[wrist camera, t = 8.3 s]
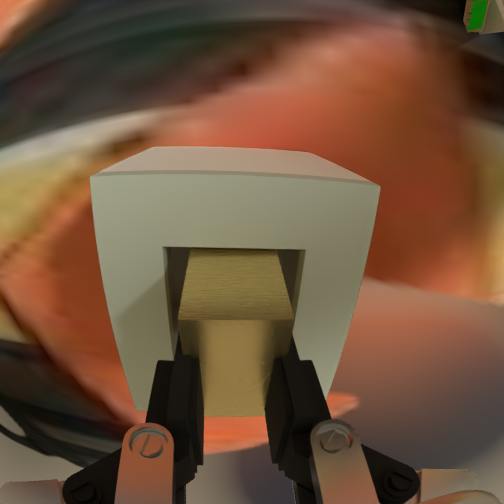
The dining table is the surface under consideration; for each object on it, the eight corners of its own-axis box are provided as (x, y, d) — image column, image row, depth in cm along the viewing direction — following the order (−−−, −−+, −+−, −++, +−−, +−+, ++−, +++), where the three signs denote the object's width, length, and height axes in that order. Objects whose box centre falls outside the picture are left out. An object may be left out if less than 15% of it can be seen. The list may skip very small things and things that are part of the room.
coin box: (153, 146, 18) (89, 176, 9) (309, 152, 19) (380, 186, 10) (161, 307, 23) (136, 410, 14) (290, 308, 24) (322, 410, 15)
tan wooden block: (194, 232, 12) (177, 319, 8) (271, 232, 12) (294, 318, 8) (200, 326, 14) (194, 416, 10) (263, 326, 15) (275, 415, 10)
